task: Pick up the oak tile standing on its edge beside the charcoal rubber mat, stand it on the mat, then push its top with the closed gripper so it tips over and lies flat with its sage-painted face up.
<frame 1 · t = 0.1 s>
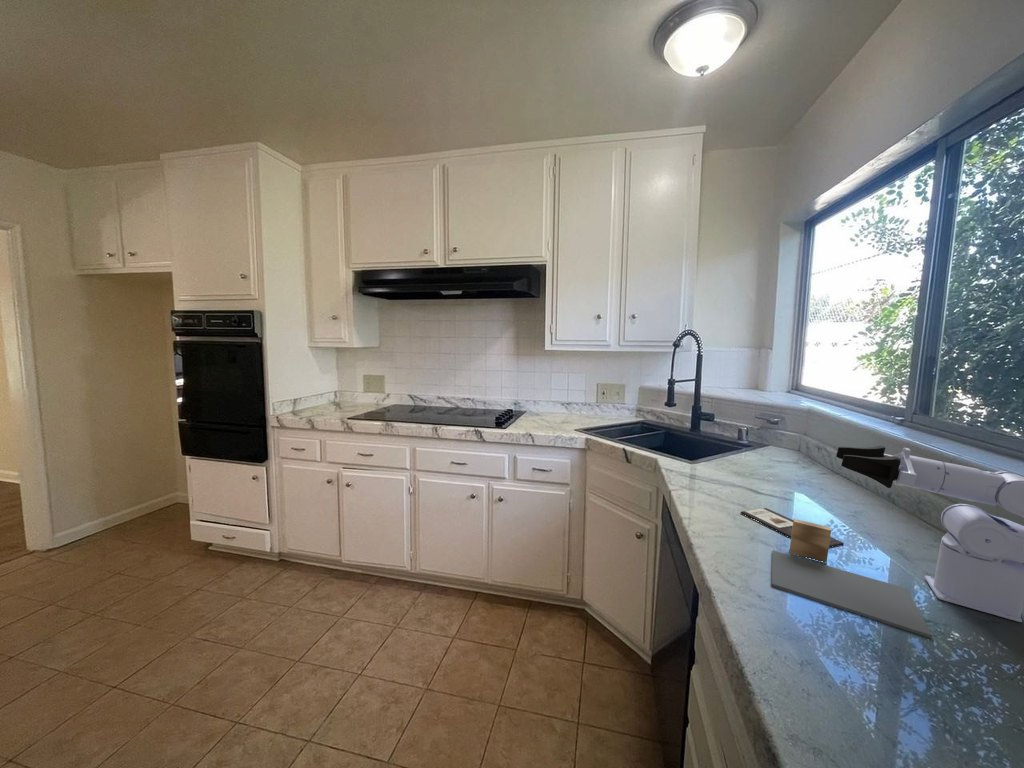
hand: (839, 456, 76), 22 cm above the table, tool horizontal, fingers open, 7 cm apart
rubber mat: (838, 588, 69), on the table
chocolate bar: (787, 530, 92), on the table
oak tile: (807, 556, 80), on the table
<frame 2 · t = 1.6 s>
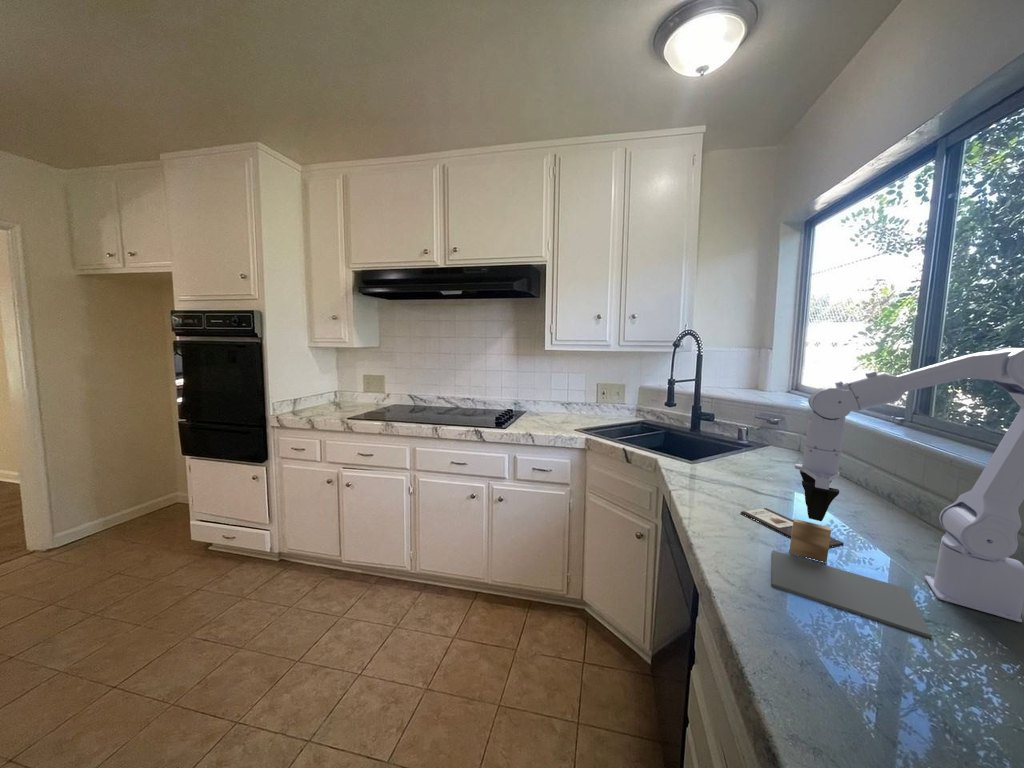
hand: (813, 512, 79), 9 cm above the table, tool pointing down, fingers open, 7 cm apart
nothing on the table moved.
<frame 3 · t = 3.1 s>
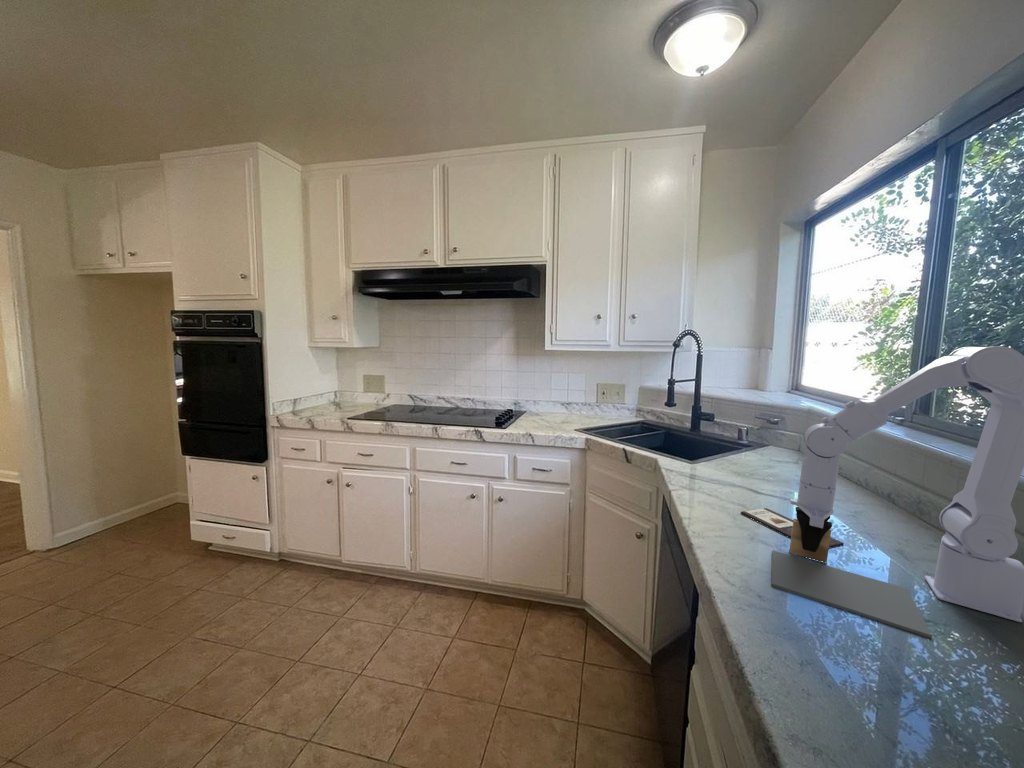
hand: (808, 547, 80), 2 cm above the table, tool pointing down, fingers closed on oak tile, 2 cm apart
oak tile: (807, 556, 80), on the table, touching gripper
everything else where it was.
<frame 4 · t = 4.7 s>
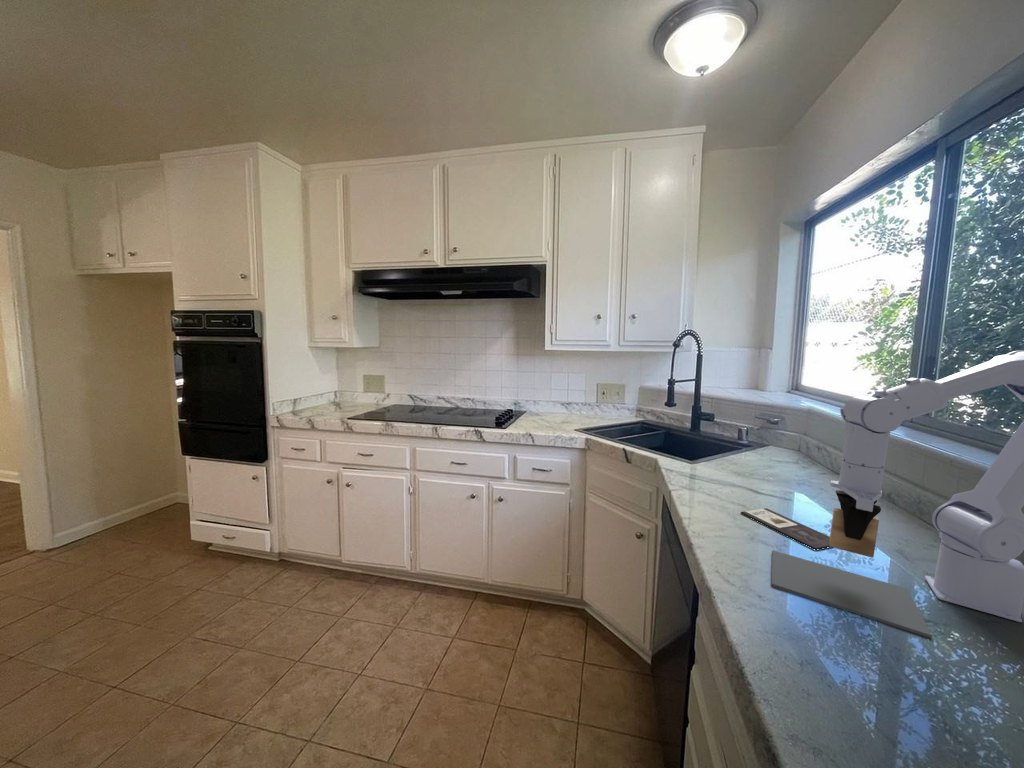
hand: (851, 535, 71), 9 cm above the table, tool pointing down, fingers closed on oak tile
oak tile: (850, 549, 71), point 6 cm above the table, touching gripper
everything else where it was.
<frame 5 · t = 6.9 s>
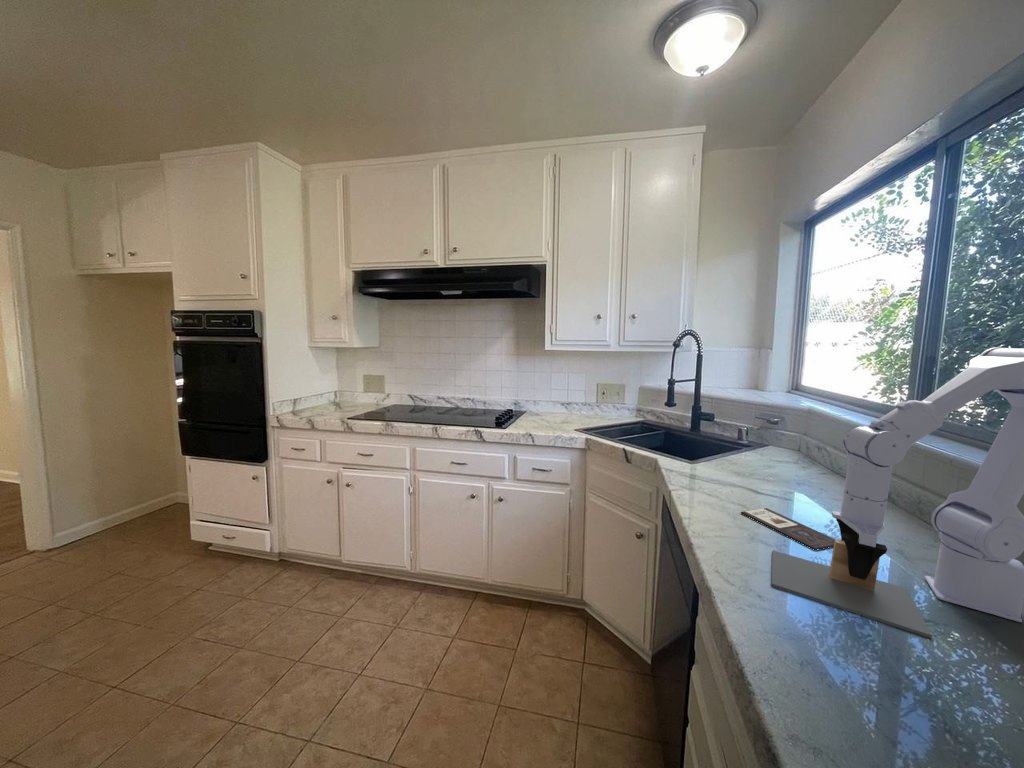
hand: (853, 566, 70), 3 cm above the table, tool pointing down, fingers open, 7 cm apart
oak tile: (850, 581, 71), resting on rubber mat
everything else where it was.
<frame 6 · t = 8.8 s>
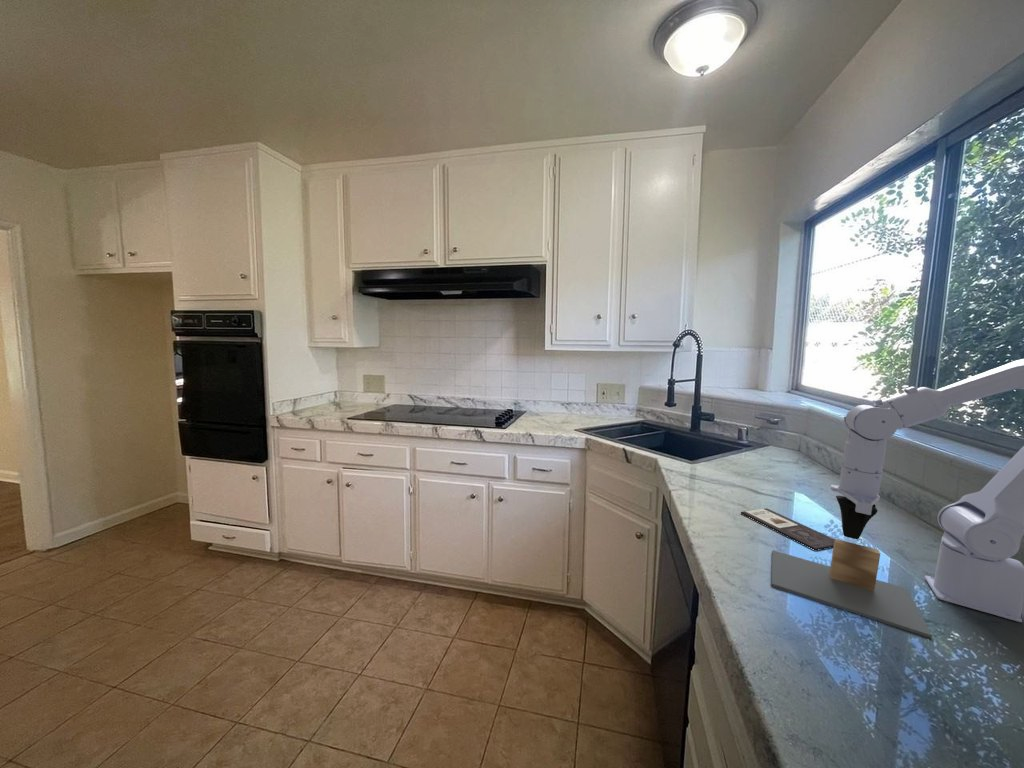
hand: (850, 536, 75), 7 cm above the table, tool pointing down, fingers closed
nothing on the table moved.
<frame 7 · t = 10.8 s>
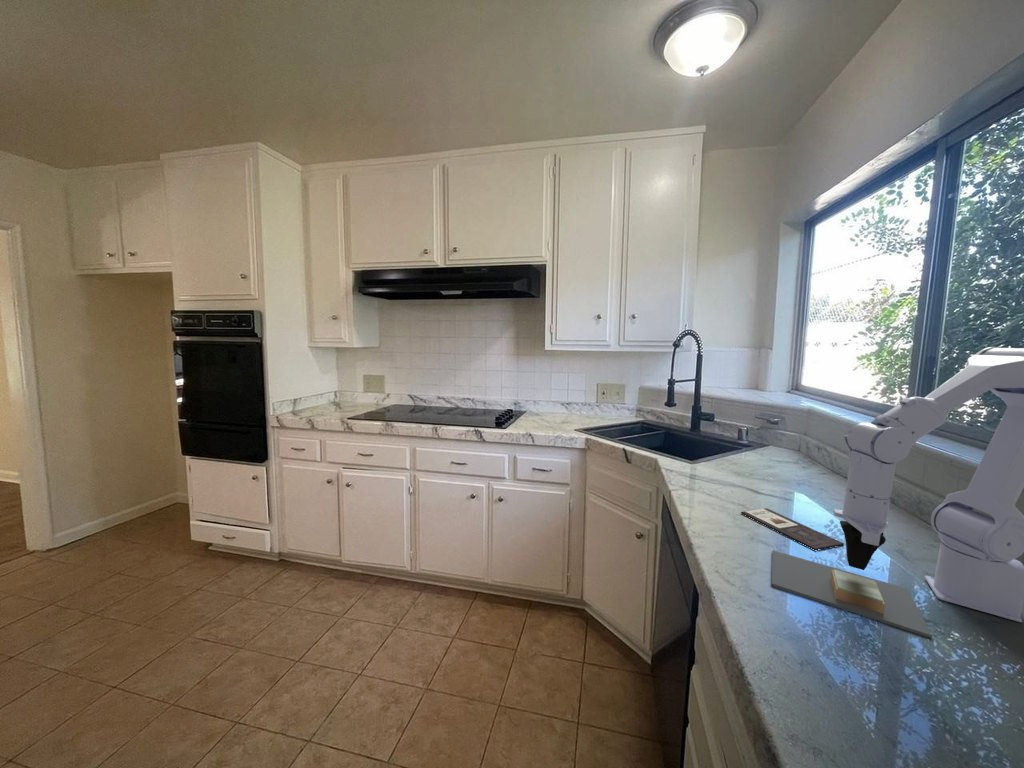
hand: (856, 566, 69), 4 cm above the table, tool pointing down, fingers closed
oak tile: (852, 579, 70), point 1 cm above the table, tilted 90°, touching rubber mat
everything else where it was.
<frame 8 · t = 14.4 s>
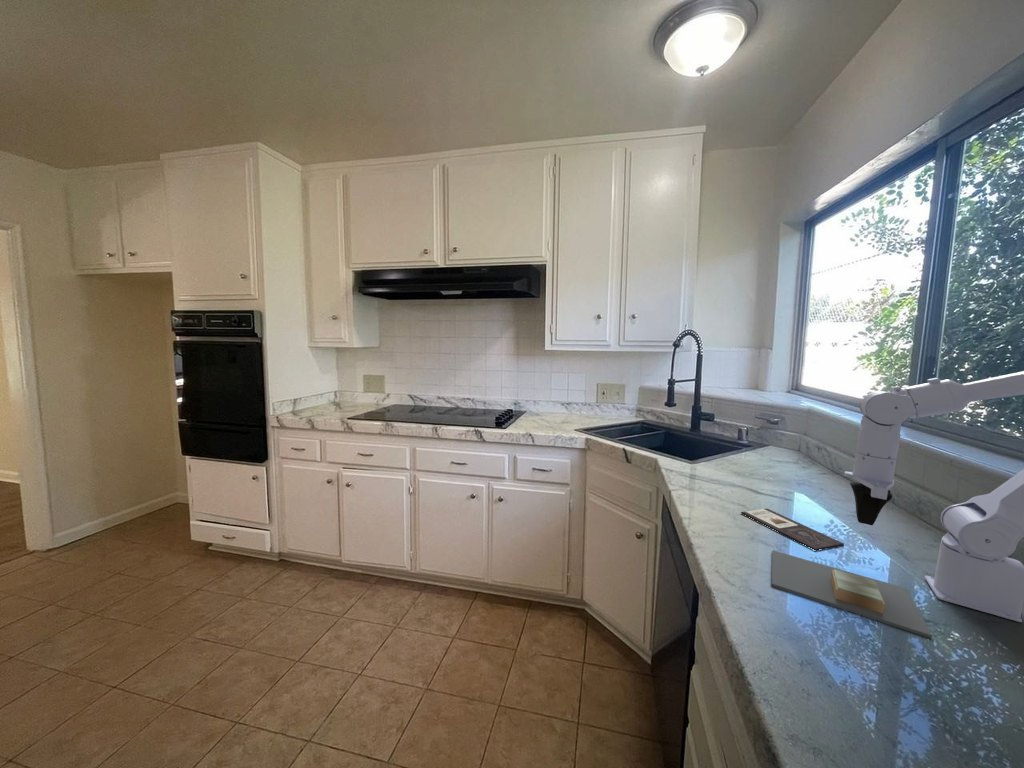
hand: (865, 522, 75), 9 cm above the table, tool pointing down, fingers closed
nothing on the table moved.
at the end: oak tile tilted 90°; oak tile inside the target area (2.1 cm from its centre), point 1.5 cm above the table; oak tile touching rubber mat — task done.
